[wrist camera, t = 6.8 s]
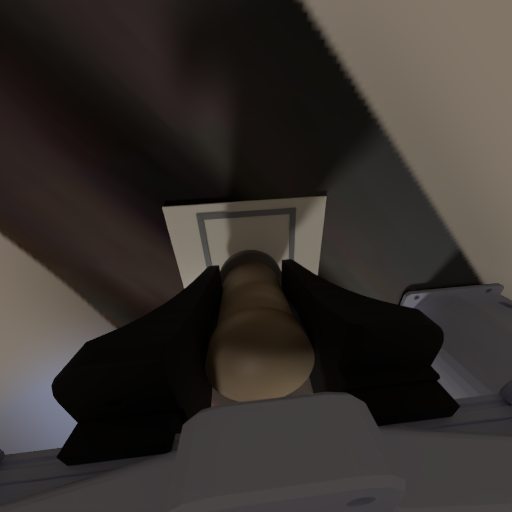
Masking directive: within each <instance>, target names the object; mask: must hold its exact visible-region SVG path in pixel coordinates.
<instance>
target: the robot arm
mask: <svg viewBox="0 0 512 512" xmlns="http://www.w3.org/2000/svg"><path fill="white" fill-rule="evenodd" d="M281 288H282V290H283V292H284V295H285V297H286V300H287V302H288V304H289V307H290V309H291V312H292V314H293V316H294V317H295V318H296V319H297V320H298V321H299V322H300V323H301V324H302V326H303V328H304V329H305V332H306V334H307V336H308V338H309V340H310V343H311V345H312V347H313V350H314V356H315V360H314V366H313V369H312V371H311V373H310V375H309V377H310V381H311V385H312V389H313V394H304V395H296V396H287V397H279V398H270V399H262V400H253V401H245V402H237V403H228V404H221V405H218V406H214V407H211V399H212V385H211V384H210V383H209V381H208V379H207V376H206V372H205V361H206V356H207V351H208V346H209V341H210V338H211V336H212V334H213V332H214V330H215V329H216V328H217V323H218V317H219V310H220V304H221V298H222V292H223V286H222V280H221V274H220V268H219V265H214V266H208V267H207V268H206V269H205V270H204V271H203V272H202V273H201V274H200V275H199V276H198V277H197V278H196V279H195V280H194V281H193V282H192V283H191V284H189V285H188V286H187V287H186V288H185V289H184V290H182V291H181V292H180V293H179V294H177V295H176V296H175V297H173V298H172V299H171V300H169V301H168V302H166V303H165V304H163V305H162V306H160V307H158V308H157V309H155V310H153V311H152V312H150V313H148V314H147V315H145V316H143V317H141V318H139V319H137V320H135V321H133V322H131V323H129V324H127V325H125V326H123V327H121V328H119V329H116V330H114V331H112V332H109V333H107V334H105V335H102V336H100V337H98V338H96V339H93V340H90V341H88V342H86V343H85V344H84V346H83V347H82V348H81V349H80V350H79V351H78V352H77V353H76V354H75V356H74V357H73V358H72V359H71V360H70V362H69V363H68V364H67V365H66V366H65V367H64V368H63V369H62V371H61V372H60V373H59V374H58V375H57V376H56V377H55V379H54V381H53V383H52V392H53V396H54V398H55V399H56V400H57V402H58V403H59V404H60V405H61V406H62V407H63V408H64V409H65V410H66V411H67V412H68V413H69V414H70V415H71V416H72V417H73V418H74V419H75V420H76V421H77V422H78V424H77V425H76V427H75V428H74V430H73V431H72V433H71V435H70V436H69V438H68V439H67V441H66V442H65V444H64V446H63V447H62V448H57V449H49V450H41V451H33V452H25V453H17V454H9V455H5V454H4V452H3V451H2V450H1V449H0V512H512V300H510V299H508V298H506V297H504V296H502V295H500V293H501V292H502V290H503V288H504V287H503V285H500V284H498V283H497V284H496V283H495V284H484V285H473V286H463V287H452V288H441V289H430V290H419V291H409V292H407V293H405V294H404V296H403V299H402V301H401V304H400V305H397V304H392V303H388V302H384V301H380V300H376V299H373V298H369V297H366V296H363V295H360V294H357V293H354V292H352V291H349V290H346V289H344V288H341V287H339V286H337V285H335V284H332V283H330V282H328V281H326V280H325V279H323V278H321V277H319V276H317V275H316V274H314V273H312V272H311V271H309V270H308V269H306V268H305V267H303V266H302V265H300V264H299V263H297V262H296V261H294V260H292V259H287V260H282V277H281Z"/></svg>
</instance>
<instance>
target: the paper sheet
mask: <svg viewBox="0 0 512 512" xmlns="http://www.w3.org/2000/svg"><path fill="white" fill-rule="evenodd" d="M326 197H327V196H313V197H298V198H283V199H268V200H253V201H238V202H223V203H208V204H193V205H178V206H164V207H162V209H163V213H164V216H165V220H166V224H167V227H168V231H169V234H170V238H171V242H172V245H173V249H174V253H175V256H176V260H177V264H178V267H179V271H180V275H181V278H182V282H183V286H184V289H185V288H186V287H187V286H188V285H189V284H191V283H192V282H193V281H194V280H195V279H196V278H197V277H198V276H199V275H200V274H201V273H202V272H203V271H204V270H205V269H206V268H207V267H208V266H214V265H219V268H220V270H221V268H222V266H223V264H224V263H225V261H226V260H227V259H228V258H229V257H231V256H232V255H234V254H236V253H238V252H241V251H245V250H257V251H261V252H264V253H266V254H268V255H269V256H271V257H272V258H273V259H274V260H275V261H276V262H277V264H278V266H279V268H280V270H281V272H282V260H287V259H292V260H294V261H296V262H297V263H299V264H300V265H302V266H303V267H305V268H306V269H308V270H309V271H311V272H312V273H314V274H316V275H317V276H318V268H319V259H320V250H321V241H322V232H323V224H324V215H325V206H326Z"/></svg>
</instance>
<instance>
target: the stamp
mask: <svg viewBox="0 0 512 512" xmlns="http://www.w3.org/2000/svg"><path fill="white" fill-rule="evenodd" d="M220 274H221V280H222V286H223V292H222V298H221V304H220V310H219V317H218V323H217V328H216V329H215V330H214V332H213V334H212V336H211V338H210V341H209V346H208V351H207V356H206V361H205V372H206V376H207V379H208V381H209V383H210V384H211V385H212V387H213V388H214V389H215V390H216V391H217V392H219V393H220V394H222V395H224V396H225V397H227V398H230V399H232V400H236V401H240V402H245V401H253V400H262V399H270V398H279V397H284V396H286V395H288V394H290V393H291V392H293V391H295V390H296V389H297V388H299V387H300V386H301V385H302V384H303V383H304V382H305V381H306V380H307V378H308V377H309V375H310V373H311V371H312V369H313V366H314V360H315V356H314V350H313V347H312V345H311V343H310V340H309V338H308V336H307V334H306V332H305V329H304V328H303V326H302V324H301V323H300V322H299V321H298V320H297V319H296V318H295V317H294V316H293V314H292V312H291V309H290V307H289V304H288V302H287V300H286V297H285V295H284V292H283V290H282V288H281V277H282V272H281V270H280V268H279V266H278V264H277V262H276V261H275V260H274V259H273V258H272V257H271V256H269V255H268V254H266V253H264V252H261V251H257V250H245V251H241V252H238V253H236V254H234V255H232V256H231V257H229V258H228V259H227V260H226V261H225V263H224V264H223V266H222V268H221V270H220Z"/></svg>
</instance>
